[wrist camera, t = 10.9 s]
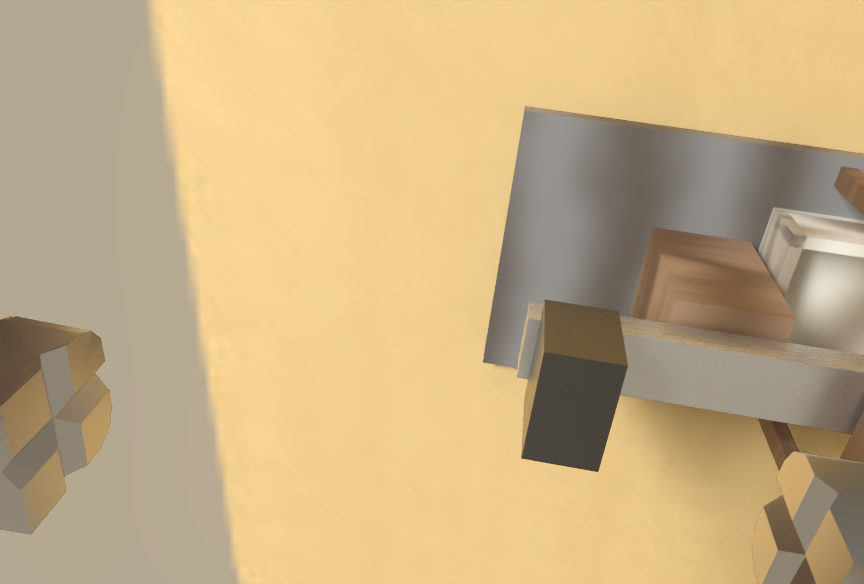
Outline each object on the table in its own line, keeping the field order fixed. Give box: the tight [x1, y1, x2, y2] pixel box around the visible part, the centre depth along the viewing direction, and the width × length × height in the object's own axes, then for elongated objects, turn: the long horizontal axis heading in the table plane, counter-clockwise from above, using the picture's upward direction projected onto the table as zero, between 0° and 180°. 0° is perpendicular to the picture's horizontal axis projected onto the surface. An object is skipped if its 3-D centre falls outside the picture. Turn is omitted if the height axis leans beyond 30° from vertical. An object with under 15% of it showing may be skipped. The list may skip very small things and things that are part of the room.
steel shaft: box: [517, 299, 864, 472], centre depth 29 cm, size 20×5×6 cm, turn 84°
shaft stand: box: [483, 106, 864, 471], centre depth 33 cm, size 24×15×14 cm, turn 84°
